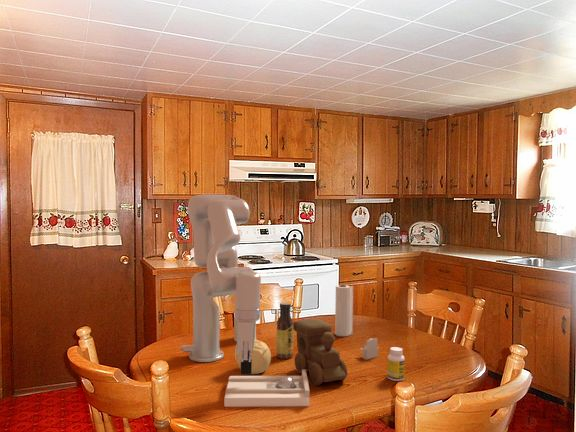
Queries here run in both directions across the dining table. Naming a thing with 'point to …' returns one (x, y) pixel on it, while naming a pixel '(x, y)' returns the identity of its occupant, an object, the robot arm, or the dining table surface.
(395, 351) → the supplement bottle
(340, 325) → the paper towel roll
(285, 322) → the sauce bottle
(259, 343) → the sculpture
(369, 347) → the architectural model
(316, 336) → the wooden toy train
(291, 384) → the steel ball
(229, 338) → the dining table surface
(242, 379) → the white tray
